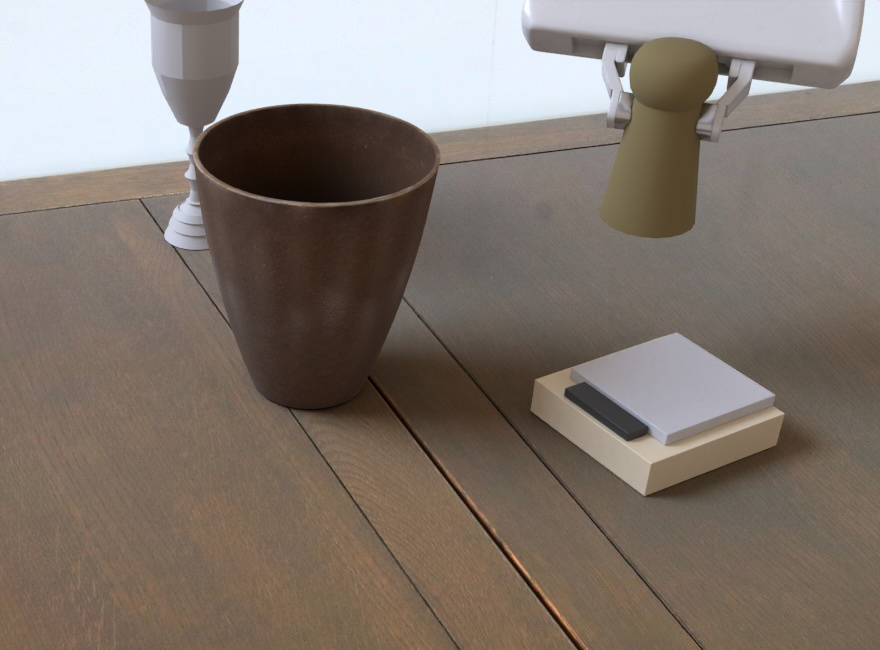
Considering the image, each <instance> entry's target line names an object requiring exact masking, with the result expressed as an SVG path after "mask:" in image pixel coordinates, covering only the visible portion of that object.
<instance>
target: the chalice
mask: <svg viewBox="0 0 880 650" xmlns="http://www.w3.org/2000/svg"><path fill="white" fill-rule="evenodd" d="M143 1H144V2H145V5H146V7H147V8H148V10H149V12H150V16H149V17H150V43H151V44H150V48H151V66H152V69H153V72H154V74H155V78H156V80H157V83H158V85H159V88H160V91H161V94H162V96H163V97H164V99H165V101H166V103H167V105H168V107H169V109H170V110H171V112H172V115H173V117H174V118H175V120H176V122H177V123H178V124H180V125H182V126H185V127H187V128H188V132H189V139H188V144H187V147H186V148H185V150H184V151H185V153H186V155H187V156H188V159H189V166H188V169H187V170H186V171H185V173H184V177H185V178H186V179H187V180H188V183H189V187H190V191H189V196H188V197H187V198H186V199H185V200H182V201H181V202H179V203H178V204H177V205H176V207H174V209H173V211H172V216H171V217H170V219H169V221H168V225H167V227H166V229H165V231H164V235H163V236H164V239H165V241H166V242H168V244H170V245H172V246H174V247H176V248H179V249H183V250H184V249H185V250H192V251H201V250H202V251H203V250H209V247H208V243H207V238H206V233H205V229H204V224H203V219H202V213H201V207H200V201H199V195H198V189H197V182H196V175H195V168H194V161H193V153H192V150H193V146H194V144H195V141H196V140H197V138H198V137H199V135H200V134H201V133H202V132H203V131H204V129H205V127H206V126H210V125H212V124H214V122H215V121H216V120H217V117H218V115H219V113H220V111H221V109H222V107H223V105H224V103H225V101H226V99H227V97H228V95H229V93H230V91H231V88H232V85H233V82H234V79H235V76H236V73H237V69H238V67H239V64H240V9H241V8H242V6H243V4H244V1H245V0H143Z"/></svg>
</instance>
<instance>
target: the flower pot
mask: <svg viewBox="0 0 880 650" xmlns="http://www.w3.org/2000/svg"><path fill="white" fill-rule="evenodd" d="M192 153H193V161H194V168H195V175H196V182H197V189H198V195H199V201H200V207H201V213H202V219H203V224H204V229H205V233H206V238H207V243H208V247H209V249H208V251H209V255H210V259H211V264H212V268H213V271H214V275H215V279H216V282H217V285H218V290H219V293H220V296H221V300H222V304H223V307H224V310H225V313H226V316H227V318H228V319H227V320H228V322H229V324H230V329H231V330H232V334H233V336H234V339H235V342H236V344H237V347H238V349H239V352H240V355H241V357H242V360H243V362H244V365H245V368H246V369H247V371H248V374H249V376H250V378H251V381H252V383H253V384H254V387H255V389H256V391H258V392H259V394H260V395H262V396H263V397H265V398H266V399H267V400H269V401H271V402H273V403H276V404H279V405H281V406H284V407H289V408H295V409H302V410H303V409H305V410H316V409H317V410H318V409H319V410H320V409H326V408H331V407H334V406H339V405H341V404H344V403H346V402H349V401H350V400H352V399H354V398H355V397H356V396H357V395H358V394H360V392H361V391H362V389H363V387H364V385H365V383H366V382H367V381H368V378H369V376H370V374H371V372H372V370H373V367H374V366H375V364H376V361H377V359H378V357H379V355H380V354H381V351H382V349H383V346H384V344H385V342H386V340H387V337H388V335H389V333H390V330H391V328H392V327H393V326H392V325H393V323H394V321H395V318H396V316H397V313H398V311H399V308H400V305H401V303H402V299H403V297H404V294H405V292H406V289H407V286H408V283H409V280H410V277H411V274H412V271H413V268H414V265H415V262H416V259H417V257H418V252H419V249H420V245H421V242H422V238H423V235H424V231H425V227H426V224H427V220H428V216H429V215H428V214H429V210H430V208H431V203H432V199H433V193H434V191H435V190H434V189H435V185H436V181H437V177H438V172H439V168H440V164H441V151H440V149H439V146H438V144H437V143H436V142H435V140H434V138H433V137H431V136H430V135H429V134H428V133H427V132H426V131H424V130H423V129H421V128H420V127H418V126H417V125H414V124H413V123H411V122H409V121H408V120H404V119H402V118H399V117H397V116H394V115H392V114H388V113H385V112H381V111H377V110H374V109H369V108H364V107H360V106H359V107H358V106H352V105H345V104H335V103H318V102H317V103H315V102H314V103H313V102H311V103H287V104H285V103H284V104H277V105H269V106H262V107H258V108H253V109H252V108H251V109H248V110H244V111H241V112H237V113H234V114H231V115H229V116H227V117H225V118H222V119H220V120H218V121H216V122H215V123H214V122H213V123H212V124H210V125H209V126H208V127H207V128H206V129H203V132H202V133H201V134H200V135H199V137H198V138H197V140H196V141H195V144H194V146H193V150H192Z"/></svg>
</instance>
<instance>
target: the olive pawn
mask: <svg viewBox="0 0 880 650" xmlns="http://www.w3.org/2000/svg"><path fill="white" fill-rule="evenodd" d="M628 74H629V75H628V77H629V89H630V91H631V93H633V94H634V96H635V98H634V103H633V106H632V116H631V121H630V124H629V125H627V127H626V128H625V130H623V133H622V136H621V139H620V143H619V145H618V149H617V152H616V156H615V159H614V163H613V165H612V169H611V172H610V175H609V179H608V182H607V185H606V188H605V192H604V194H603V198H602V201H601V205H600V208H599V217H600V218H601V220H602V221H603V223H604V224H605V225H607V226H608V227H610V228H611V229H613V230H615V231H617V232H620V233H623V234H626V235H629V236H632V237H633V236H634V237H639V238H649V239H666V238H673V237H677V236H681V235H684V234H685V233H688V232H689V231H691V230H692V229H693V228H694V226H695V225H696V215H697V214H696V212H697V200H698V199H697V198H698V184H699V183H698V182H699V168H700V167H699V166H700V152H701V151H700V150H701V140H699V138H698V136H697V134H696V133H695V130H696V125H697V121H698V119H699V118H700V111H701V108H702V104H703V103H706V101H707V100H708V99H710V97H711V95H713V92H714V90H715V88H716V86H717V83H718V78H719V75H718V61H717V58H716V55H715V53H714V52H713V51H712V50H711V49H710V48H709V47H708V46H707V45H705V44H703V43H701V42H698V41H695V40H692V39H686V38H679V37H663V38H658V39H654V40H652V41H649V42H647V43H645V44H643V45H642V46H641V47H640V49H639V50H638V51H637V52H636V53H635V55H634V57H633V59H632V62H631V63H630V67H629V73H628Z"/></svg>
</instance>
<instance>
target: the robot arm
mask: <svg viewBox="0 0 880 650" xmlns="http://www.w3.org/2000/svg"><path fill="white" fill-rule="evenodd" d="M865 6H866V0H524V1H523V4H522V8H521V14H520V23H521V32H522V35H523V37H524V39H525V41H526V43H527V44H528V46H529V48H530V49H531V50H532V51H534V52H538V53H546V54H553V55H563V56H571V57H577V58H584V59H594V60H599V61H600V60H601V77H602V80H603V82H604V85H605V88H606V91H607V94H608V96H609V100H610V101H609V105H608V110H607V113H606V114H607V115H606V128H610V129H615V130H623V131H624V130H625V128H626V127H627V125H629V124H630V121H631V116H632V106H633V103H634V98H635V96H634V94H633V93H632V92H629V91H624V87H623V84H622V81H621V79H622V78H624V77H625V76H626V71H627V68H628V65H629V64H631V62H632V59H633V57H634V55H635V53H636V52H637V51H638V50H639V49H640V47H641V46H642V45H643V44H645V43H647V42H649V41H652V40H654V39H658V38H663V37H679V38H686V39H692V40H695V41H698V42H701V43H703V44H705V45H707V46H708V47H709V48H710V49H711V50H712V51H713V52H714V53H715V55H716V58H717V61H718V76H724V77H727V82H726V83H727V84H726V91H725V92H724V93H723V95H722V96H721V97H720V98H719V99H718V100H717V101H716V102H715V103H709V102H704V103H703V104H702V108H701V111H700V118H699V119H698V121H697V125H696V130H695V133H696V134H697V136H698V138H699V140H700V141H702V142H709V143H713V144H714V143H716V144H719V142H720V139H721V134H722V130H723V126H724V121H725V119H726V118H728V117H729V116H730V115H731V114H732V113H733V112H734V111H735V109H737V108H738V107H739V105H740V104H741V103H742V102H743V101H744V100H745V99H746V98H747V97H748V96H749V94H750V90H751V86H752V82H753V81H755V80H756V81H762V82H770V83H778V84H784V85H785V84H786V85H793V86H800V87H809V88H817V89H823V90H834V89H836V88H838V87H839V86H841V84H843V83H844V82H845V81H846V80H847V79H849V78H850V77H851V75H852V72H853V70H854V68H855V67H854V66H855V63H856V60H857V56H858V53H859V47H860V42H861V37H862V31H863V26H864V25H863V24H864V15H865Z"/></svg>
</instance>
